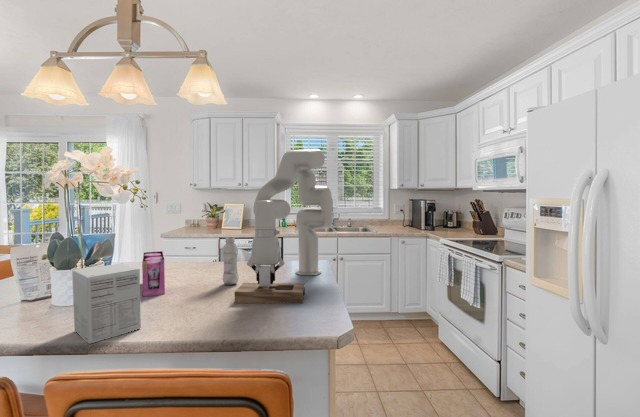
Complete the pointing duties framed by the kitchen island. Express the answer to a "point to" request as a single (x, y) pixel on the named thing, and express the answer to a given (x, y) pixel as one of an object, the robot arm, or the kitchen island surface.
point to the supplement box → (106, 301)
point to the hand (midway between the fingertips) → (265, 282)
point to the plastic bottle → (230, 262)
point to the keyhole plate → (270, 293)
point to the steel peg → (265, 276)
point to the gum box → (153, 273)
